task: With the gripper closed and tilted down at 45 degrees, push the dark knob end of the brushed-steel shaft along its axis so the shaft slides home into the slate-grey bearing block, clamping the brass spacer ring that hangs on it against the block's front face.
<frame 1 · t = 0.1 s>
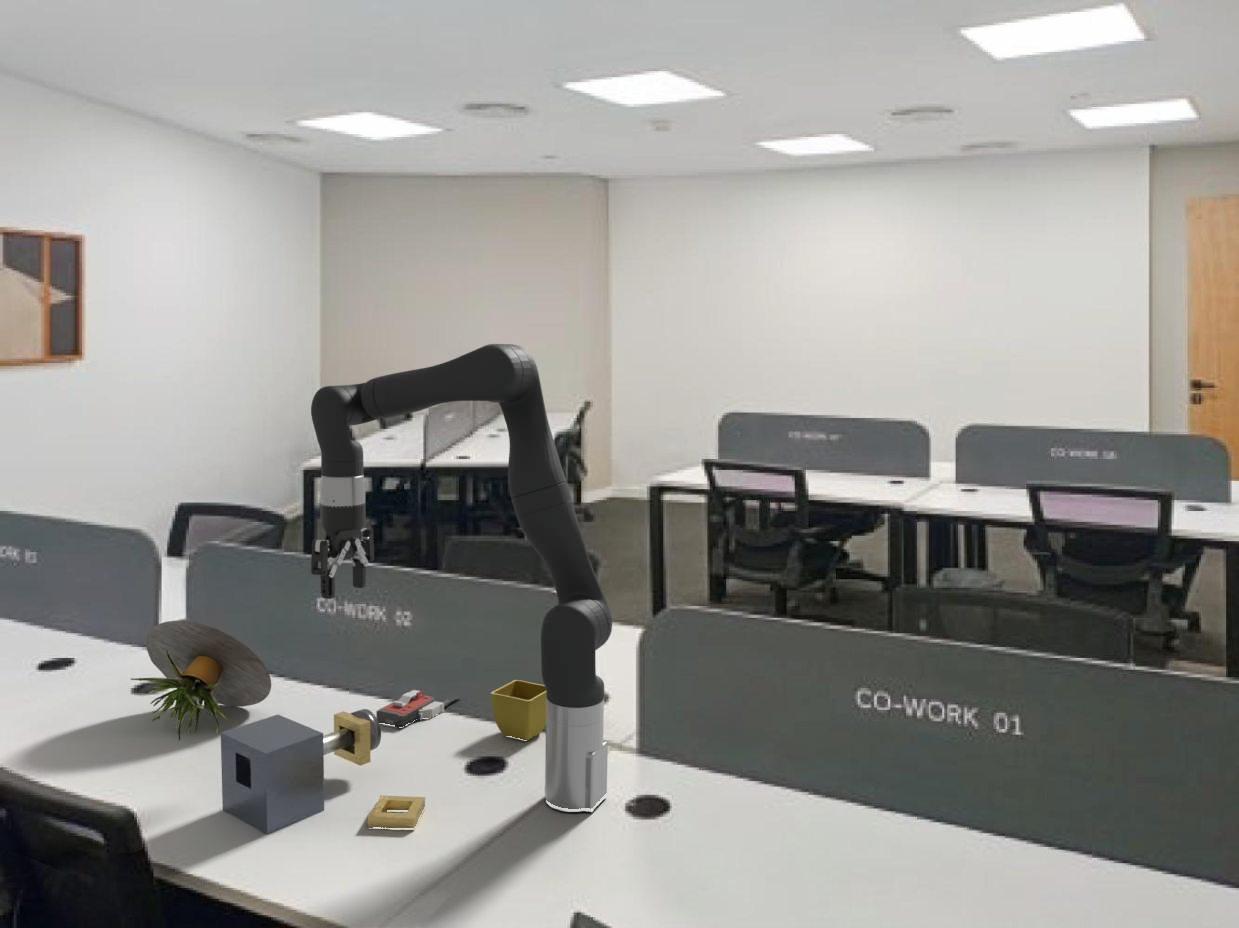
hand: (344, 592, 172), 29 cm above the table, tool pointing down, fingers open, 8 cm apart
shaft: (317, 747, 158), point 8 cm above the table, slide at 9.0 cm, touching spacer
potted plant: (199, 724, 187), on the table
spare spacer: (397, 818, 151), on the table
spacer: (352, 738, 164), point 7 cm above the table, touching shaft
bearing block: (273, 809, 153), on the table
flower pot: (521, 736, 184), on the table
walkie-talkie: (419, 714, 195), on the table
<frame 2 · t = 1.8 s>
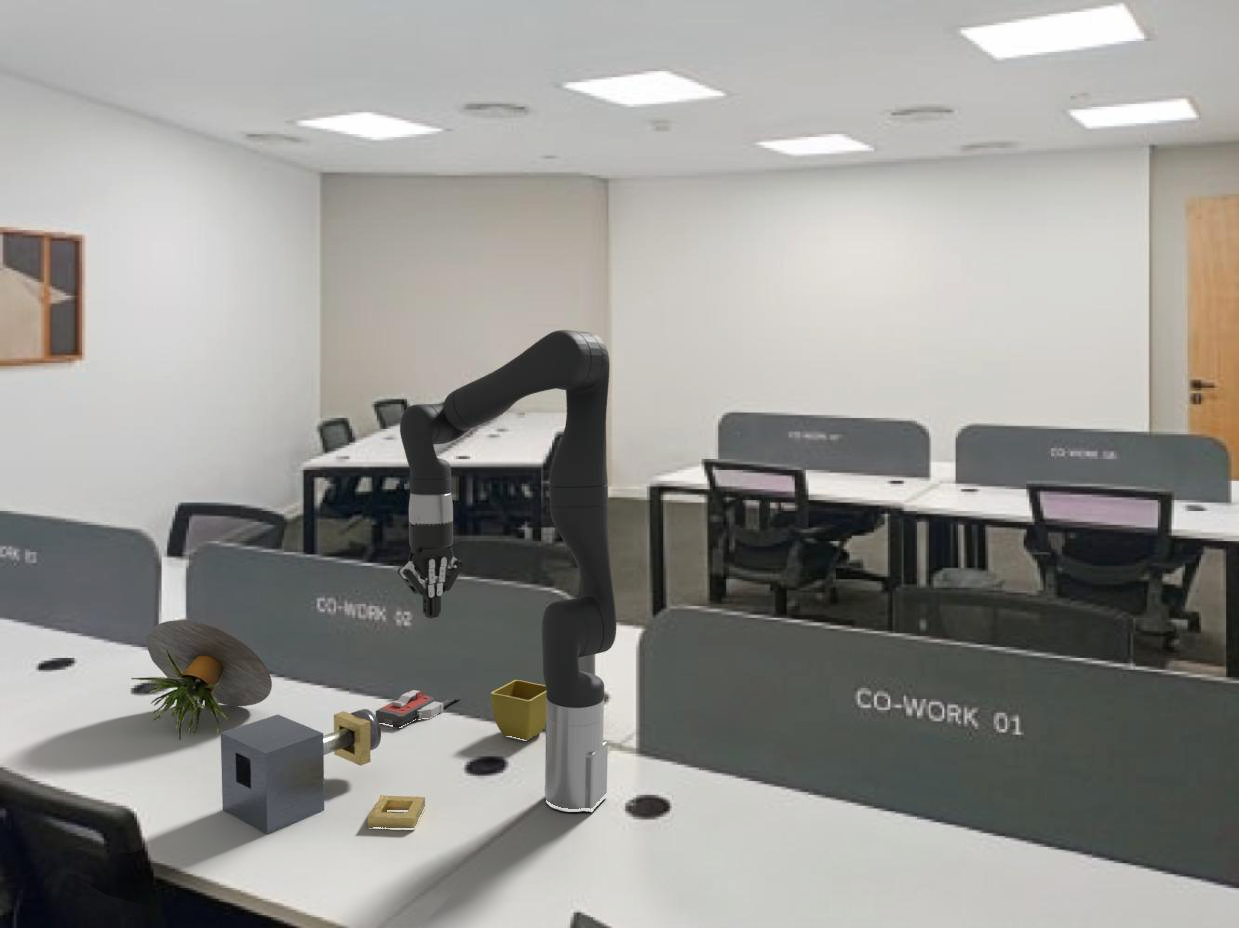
hand: (431, 616, 172), 25 cm above the table, tool pointing down, fingers closed
nothing on the table moved.
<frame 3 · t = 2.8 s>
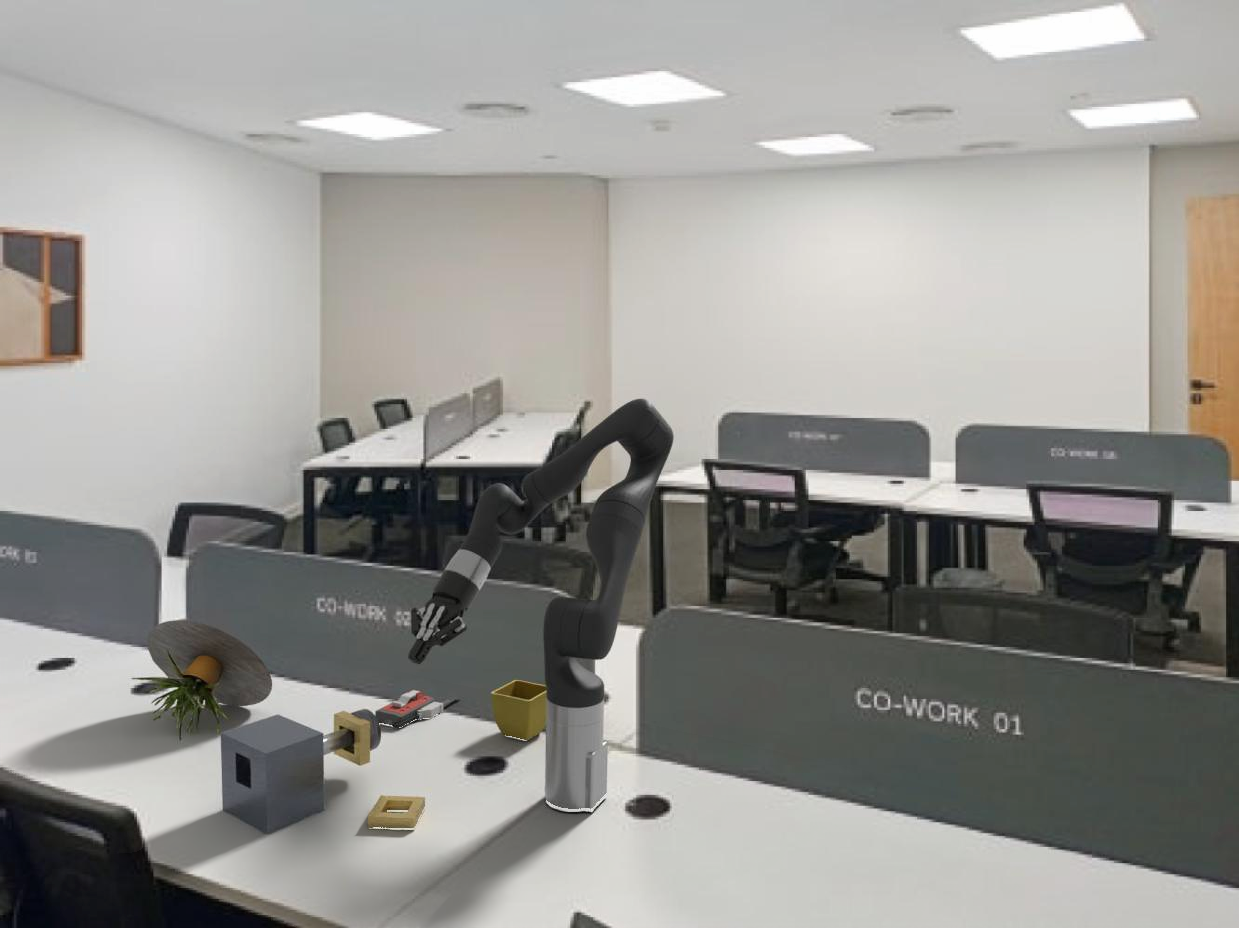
hand: (413, 661, 173), 17 cm above the table, tool tilted 45°, fingers closed
nothing on the table moved.
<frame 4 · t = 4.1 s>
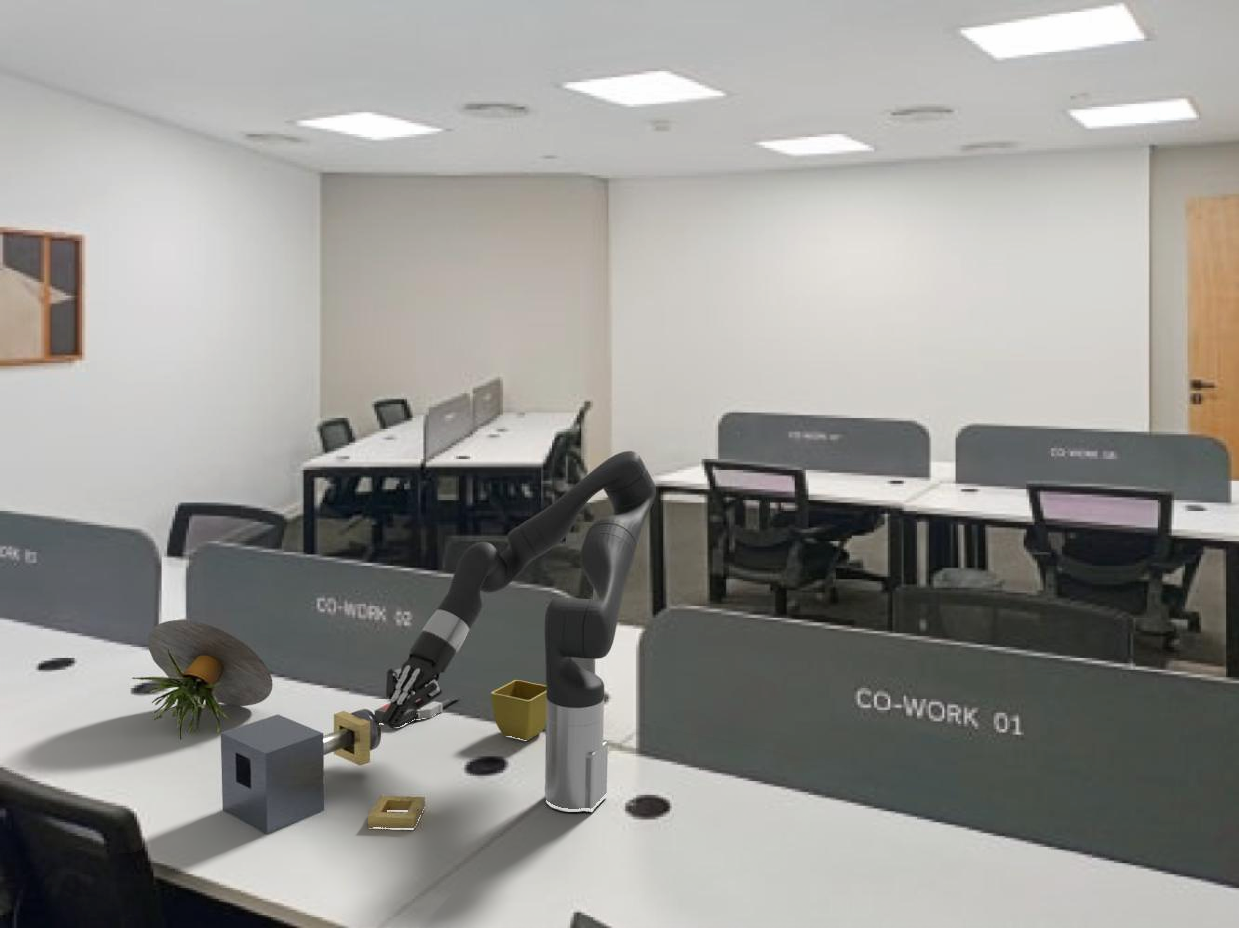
hand: (386, 725, 170), 7 cm above the table, tool tilted 45°, fingers closed
nothing on the table moved.
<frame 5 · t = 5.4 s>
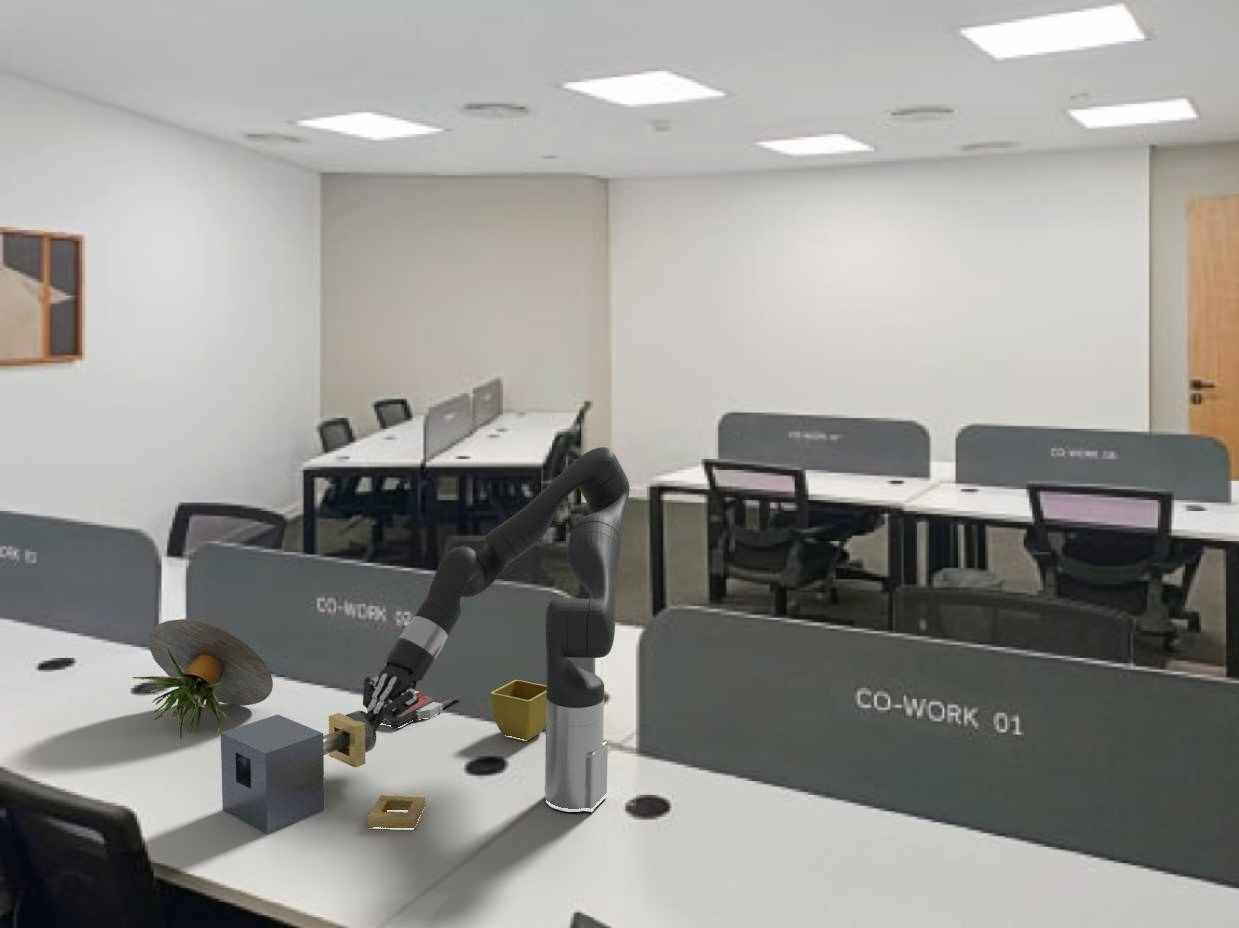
hand: (363, 735, 167), 6 cm above the table, tool tilted 45°, fingers closed
shaft: (312, 749, 158), point 8 cm above the table, slide at 8.0 cm, touching gripper, spacer
spacer: (346, 739, 163), point 7 cm above the table, touching shaft
everything else where it was.
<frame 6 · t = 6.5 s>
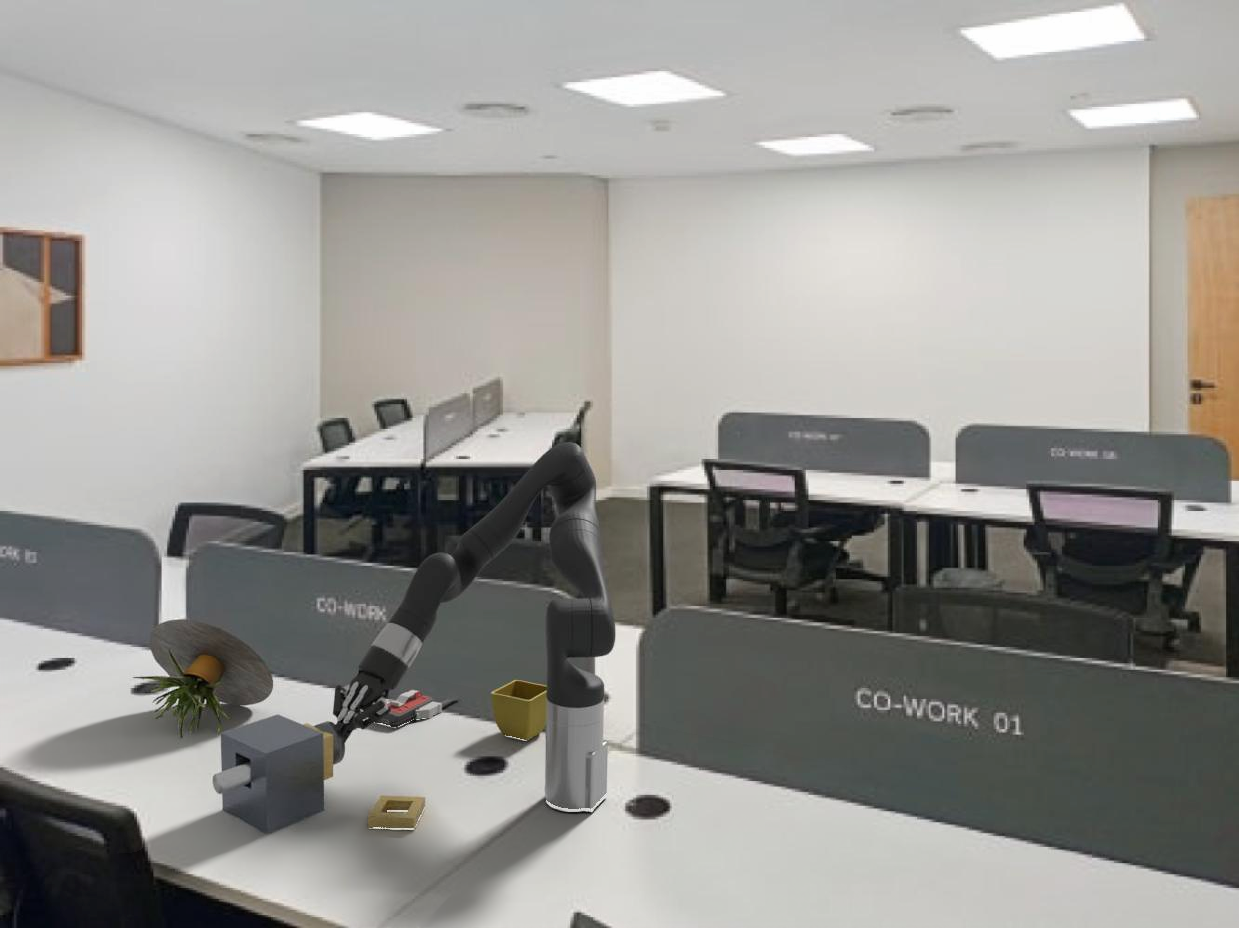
hand: (332, 745, 162), 7 cm above the table, tool tilted 45°, fingers closed
shaft: (277, 762, 153), point 8 cm above the table, slide at 1.7 cm, touching gripper, spacer
spacer: (314, 751, 158), point 7 cm above the table, touching shaft
everything else where it was.
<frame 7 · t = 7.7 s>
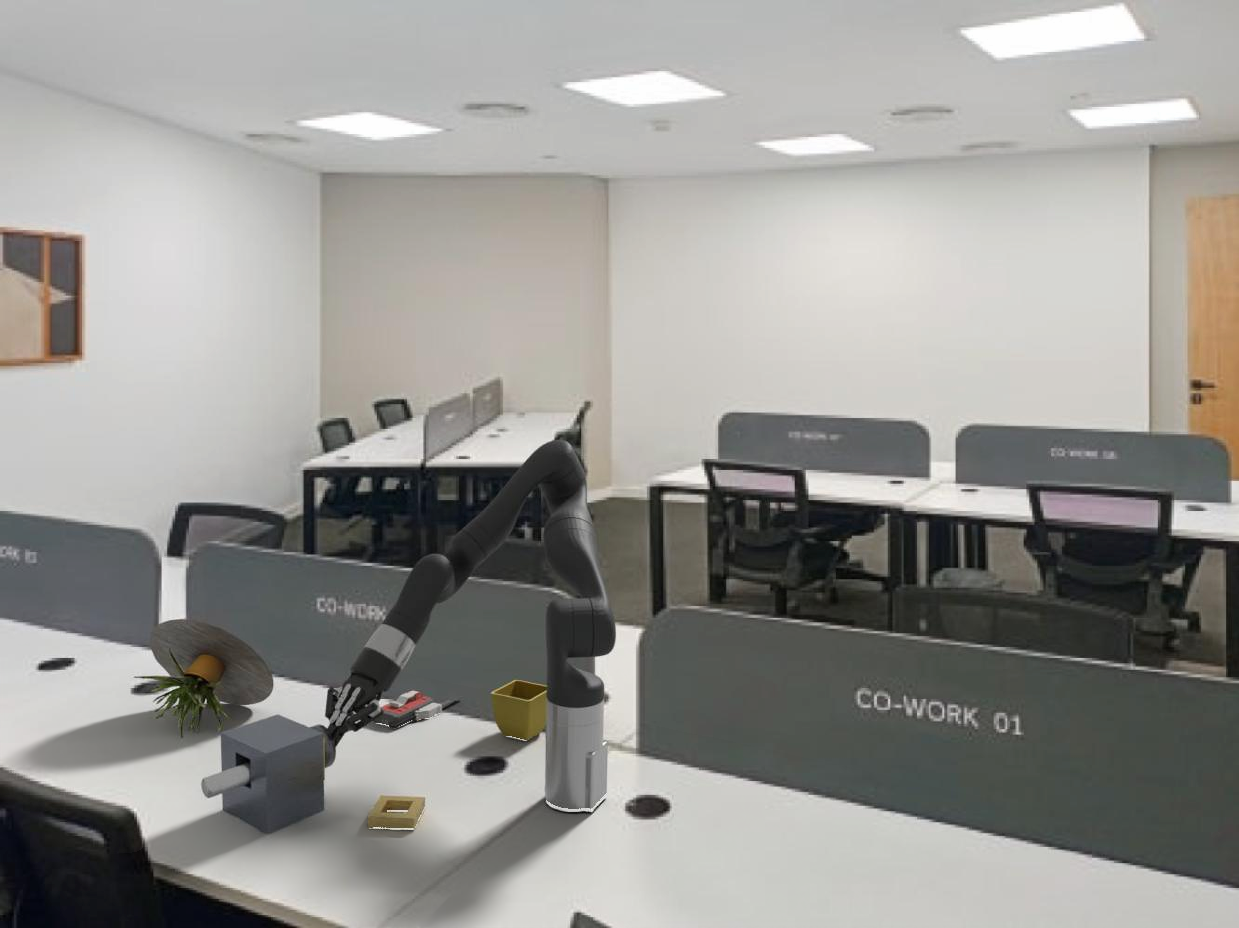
hand: (324, 748, 160), 7 cm above the table, tool tilted 45°, fingers closed
shaft: (267, 765, 151), point 8 cm above the table, slide at -0.1 cm, touching gripper, spacer
spacer: (305, 754, 157), point 7 cm above the table, touching bearing block, shaft
everything else where it was.
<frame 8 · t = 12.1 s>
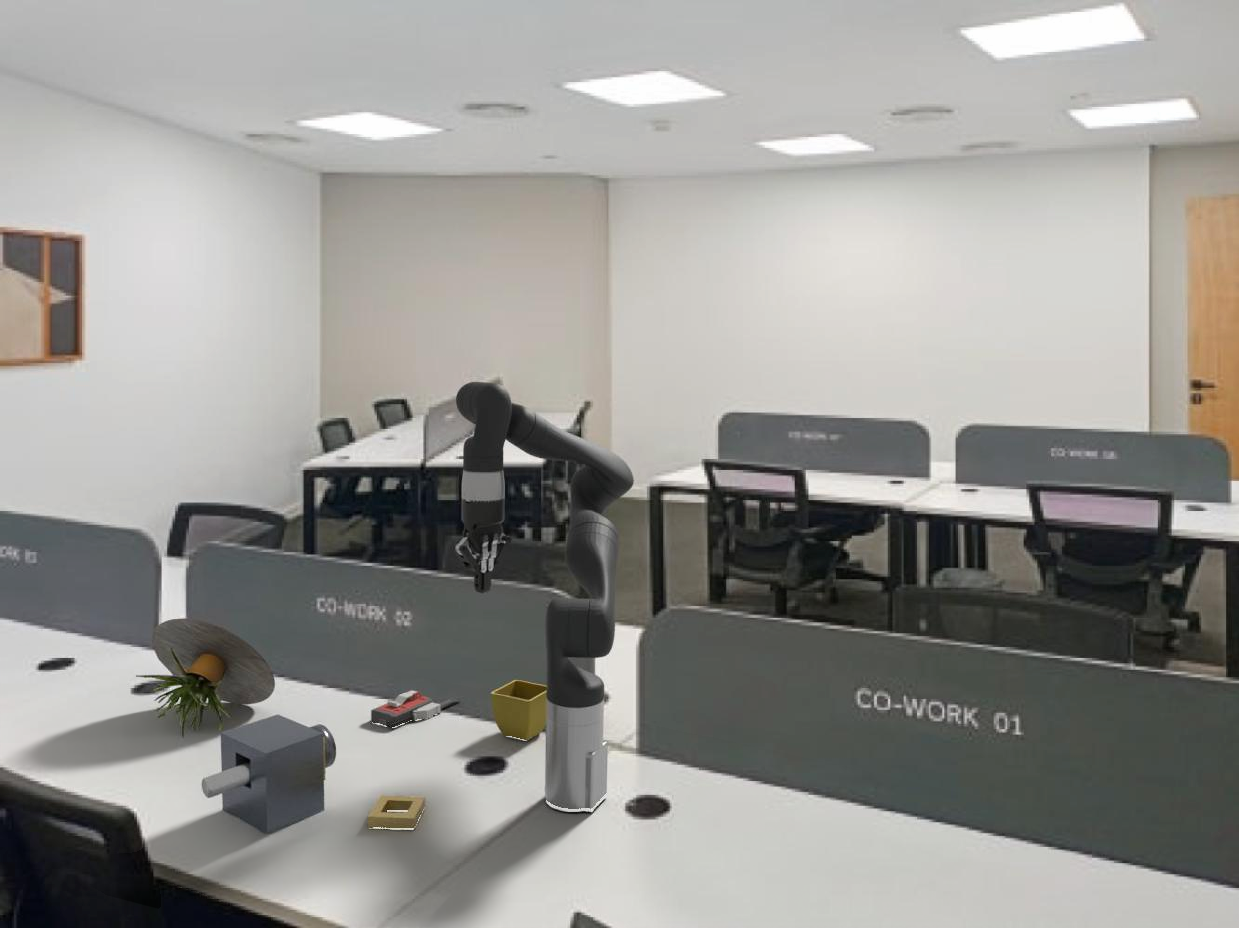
hand: (482, 591, 175), 29 cm above the table, tool pointing down, fingers closed
shaft: (268, 765, 151), point 8 cm above the table, slide at 0.0 cm, touching spacer
spacer: (306, 754, 157), point 7 cm above the table, touching shaft
at the end: shaft slide at 0.0 cm; spacer inside the target area (0.2 cm from its centre), point 7.0 cm above the table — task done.
